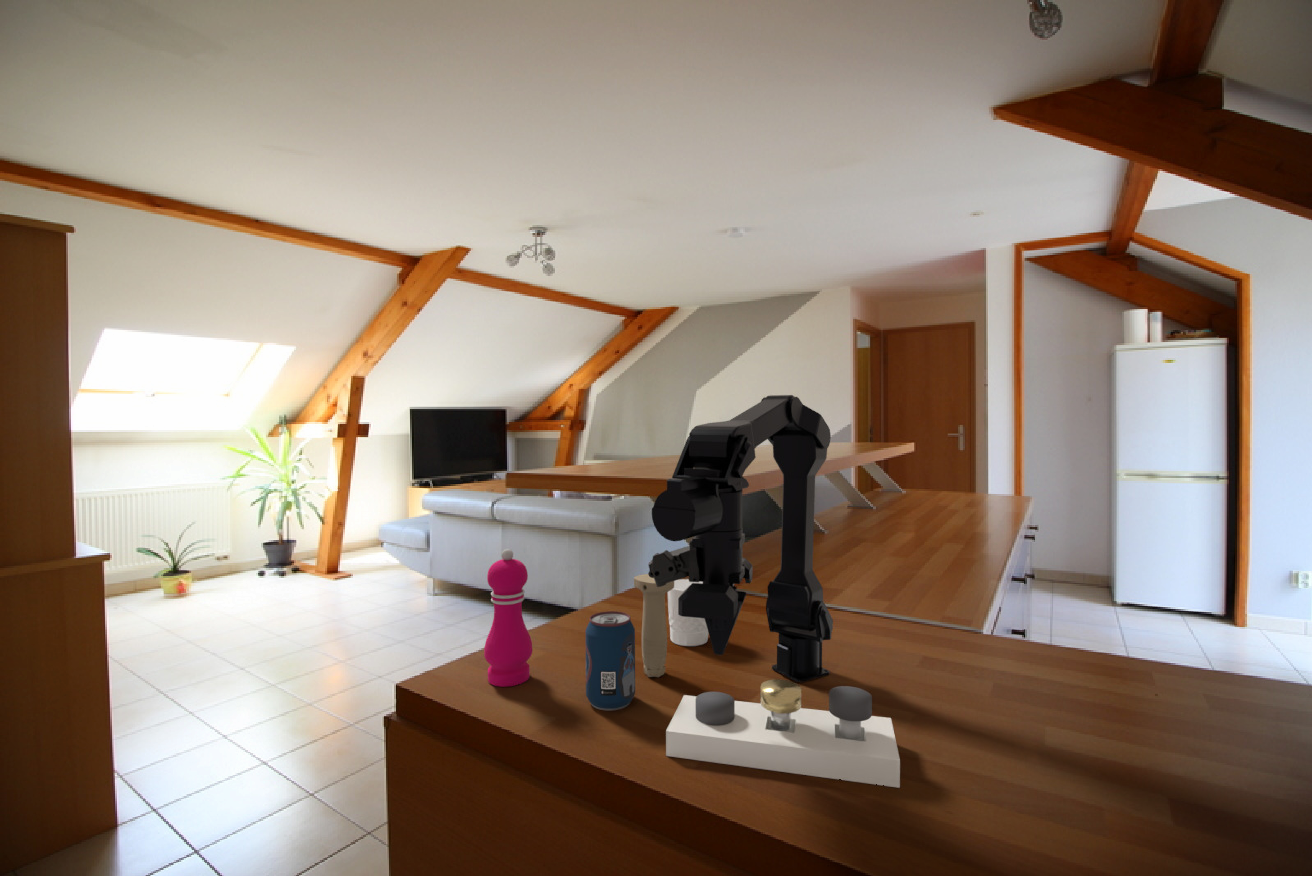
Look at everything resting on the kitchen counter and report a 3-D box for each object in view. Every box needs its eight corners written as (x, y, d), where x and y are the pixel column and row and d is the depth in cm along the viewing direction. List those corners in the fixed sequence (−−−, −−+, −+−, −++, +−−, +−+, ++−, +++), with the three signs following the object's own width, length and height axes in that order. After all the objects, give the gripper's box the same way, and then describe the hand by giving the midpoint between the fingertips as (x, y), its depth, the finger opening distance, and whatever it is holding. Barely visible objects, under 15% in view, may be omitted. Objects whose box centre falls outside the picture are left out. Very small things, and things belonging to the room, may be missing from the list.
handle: (662, 684, 96) (661, 585, 95) (628, 674, 100) (627, 578, 99) (680, 674, 100) (679, 578, 99) (647, 664, 104) (646, 572, 103)
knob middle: (801, 719, 79) (802, 681, 79) (800, 738, 74) (800, 698, 74) (762, 714, 80) (762, 677, 80) (758, 733, 76) (758, 693, 76)
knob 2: (870, 727, 77) (870, 688, 77) (872, 747, 72) (873, 706, 72) (828, 722, 78) (828, 684, 78) (828, 741, 74) (829, 701, 73)
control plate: (890, 742, 79) (890, 718, 79) (899, 787, 69) (899, 760, 69) (684, 717, 86) (684, 695, 86) (666, 755, 76) (666, 730, 76)
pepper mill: (542, 673, 100) (540, 546, 99) (513, 692, 94) (511, 556, 93) (504, 666, 103) (503, 542, 102) (474, 683, 97) (472, 551, 96)
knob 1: (736, 730, 81) (736, 694, 81) (731, 749, 77) (731, 711, 76) (699, 725, 82) (699, 689, 82) (692, 744, 78) (692, 706, 78)
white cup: (660, 644, 113) (660, 588, 112) (676, 630, 120) (676, 577, 120) (703, 650, 110) (703, 592, 110) (716, 635, 117) (716, 581, 117)
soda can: (589, 690, 94) (588, 609, 94) (636, 691, 94) (636, 609, 93) (582, 712, 87) (581, 625, 87) (633, 713, 87) (633, 625, 86)
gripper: (672, 513, 90) (673, 624, 90) (633, 539, 72) (634, 677, 72) (753, 517, 87) (752, 631, 87) (733, 544, 69) (732, 688, 69)
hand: (718, 653), depth 79 cm, fingers closed
